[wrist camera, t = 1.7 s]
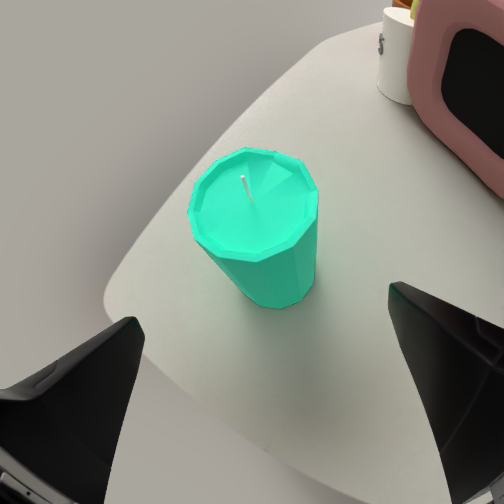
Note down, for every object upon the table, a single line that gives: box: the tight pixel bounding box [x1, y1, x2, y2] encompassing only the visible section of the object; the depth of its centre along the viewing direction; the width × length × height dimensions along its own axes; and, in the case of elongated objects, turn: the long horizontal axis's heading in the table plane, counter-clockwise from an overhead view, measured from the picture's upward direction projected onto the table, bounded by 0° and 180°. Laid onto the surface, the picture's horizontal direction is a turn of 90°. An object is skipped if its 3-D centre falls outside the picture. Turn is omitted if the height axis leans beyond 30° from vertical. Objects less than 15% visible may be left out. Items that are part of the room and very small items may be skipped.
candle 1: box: [187, 147, 318, 309], centre depth 16 cm, size 6×6×12 cm
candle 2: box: [377, 0, 419, 105], centre depth 20 cm, size 6×6×15 cm
